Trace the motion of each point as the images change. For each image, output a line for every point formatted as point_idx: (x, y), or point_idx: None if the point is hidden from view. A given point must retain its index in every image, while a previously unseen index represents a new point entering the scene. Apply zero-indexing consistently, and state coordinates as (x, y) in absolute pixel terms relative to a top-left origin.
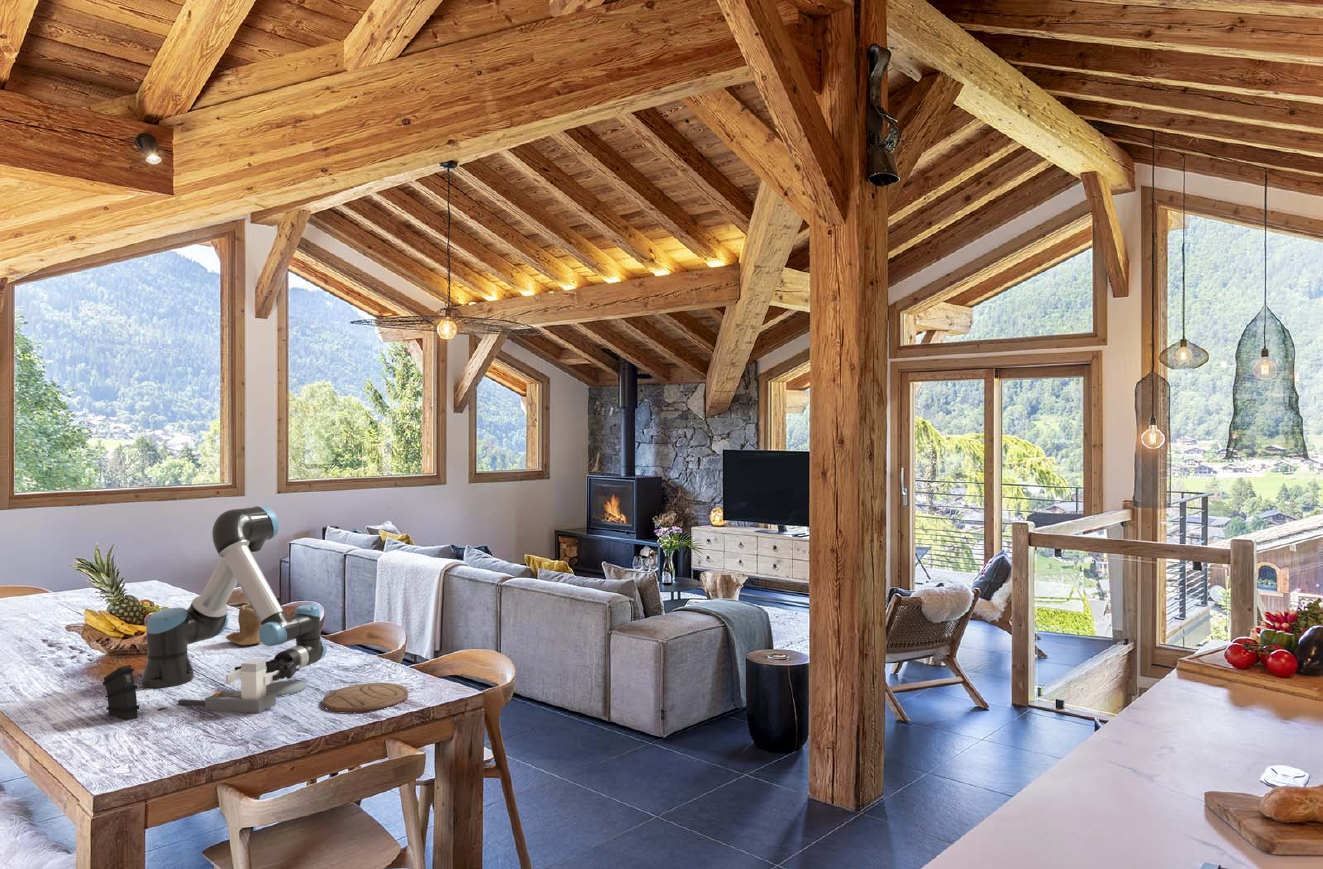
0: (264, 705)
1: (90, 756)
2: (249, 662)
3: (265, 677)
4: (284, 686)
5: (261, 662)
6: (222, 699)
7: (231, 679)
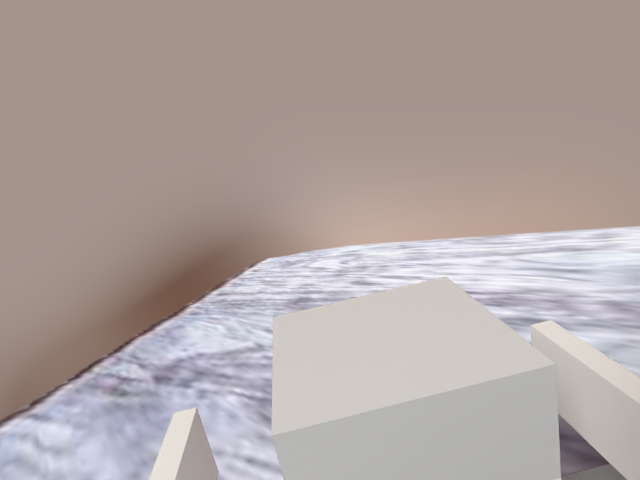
0: None
1: (437, 252)
2: (393, 310)
3: (175, 420)
4: None
5: (275, 377)
6: (578, 473)
7: (561, 395)
